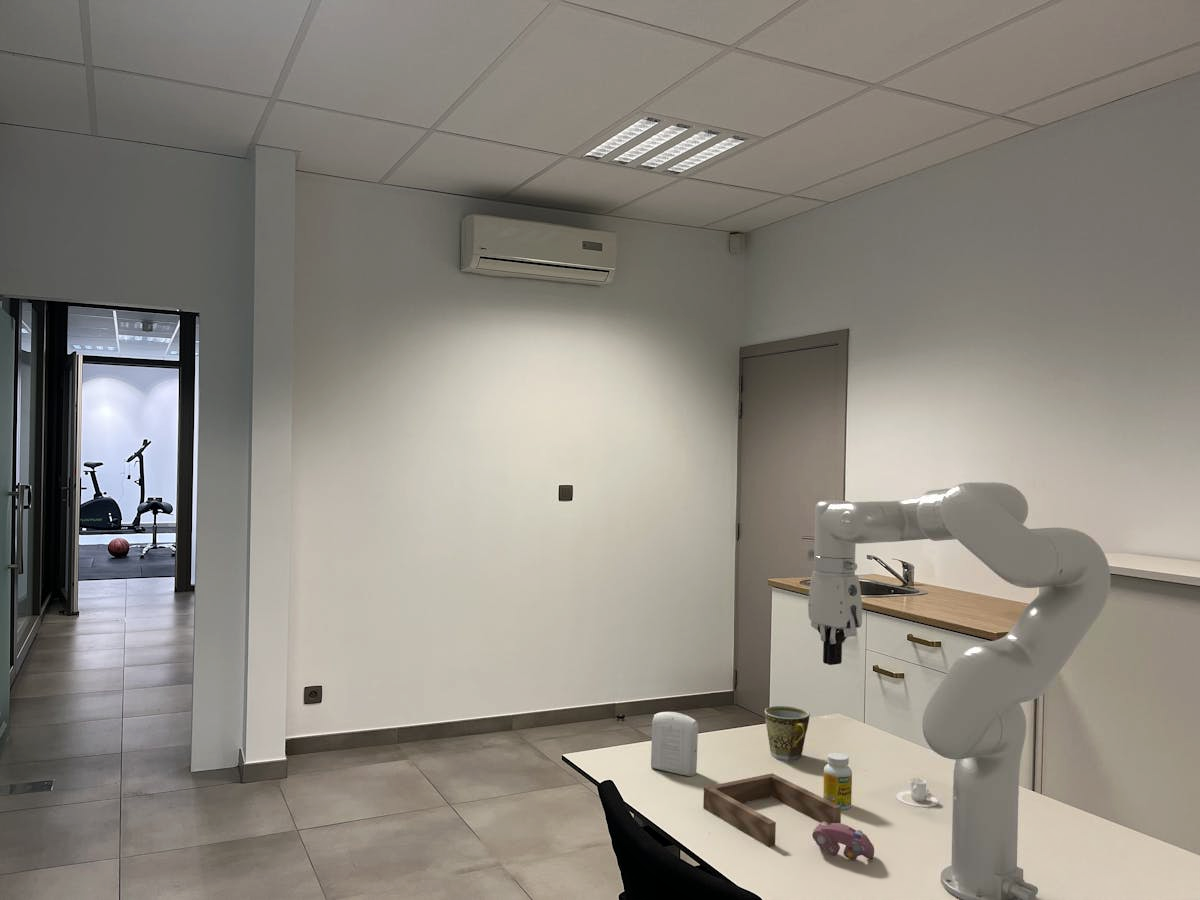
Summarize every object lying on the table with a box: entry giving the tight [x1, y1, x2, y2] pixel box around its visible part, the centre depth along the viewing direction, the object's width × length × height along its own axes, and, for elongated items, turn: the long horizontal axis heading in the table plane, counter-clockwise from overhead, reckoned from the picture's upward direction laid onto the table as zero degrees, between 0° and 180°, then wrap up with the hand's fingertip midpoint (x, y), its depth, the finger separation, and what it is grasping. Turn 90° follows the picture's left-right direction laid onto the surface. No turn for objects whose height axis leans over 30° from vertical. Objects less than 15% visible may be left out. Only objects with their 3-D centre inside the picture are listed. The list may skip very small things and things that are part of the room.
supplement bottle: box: [822, 752, 853, 811], centre depth 175 cm, size 5×5×10 cm
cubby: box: [702, 773, 842, 848], centre depth 168 cm, size 19×17×4 cm
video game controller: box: [811, 822, 875, 861], centre depth 153 cm, size 10×5×7 cm, turn 58°
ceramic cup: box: [764, 705, 811, 762], centre depth 202 cm, size 13×10×10 cm
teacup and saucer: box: [896, 777, 939, 808], centre depth 180 cm, size 9×8×4 cm
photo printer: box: [650, 711, 699, 777], centre depth 193 cm, size 10×4×12 cm, turn 60°
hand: (832, 663), depth 169 cm, fingers closed
